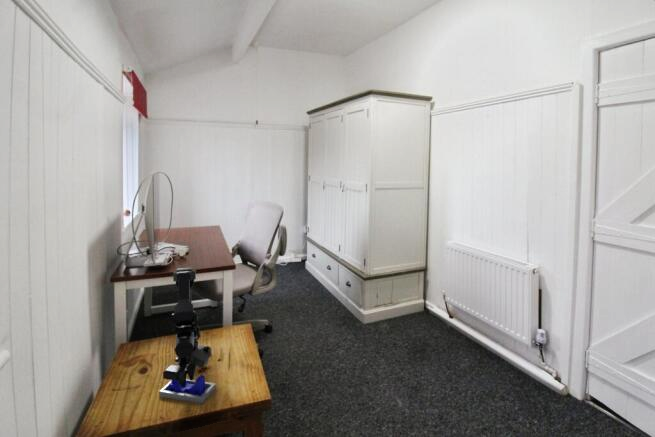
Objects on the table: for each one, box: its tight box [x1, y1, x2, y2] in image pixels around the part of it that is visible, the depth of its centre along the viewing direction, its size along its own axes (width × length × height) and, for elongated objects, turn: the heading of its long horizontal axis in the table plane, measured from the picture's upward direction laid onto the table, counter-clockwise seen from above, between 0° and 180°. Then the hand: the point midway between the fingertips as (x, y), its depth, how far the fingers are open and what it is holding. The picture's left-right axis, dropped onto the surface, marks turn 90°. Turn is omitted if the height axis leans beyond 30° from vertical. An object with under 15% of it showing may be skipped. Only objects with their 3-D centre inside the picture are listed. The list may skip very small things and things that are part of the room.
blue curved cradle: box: [169, 374, 206, 396], centre depth 132 cm, size 12×4×6 cm, turn 73°
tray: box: [158, 378, 217, 405], centre depth 133 cm, size 17×9×2 cm, turn 77°
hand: (187, 383), depth 132 cm, fingers open, 4 cm apart
